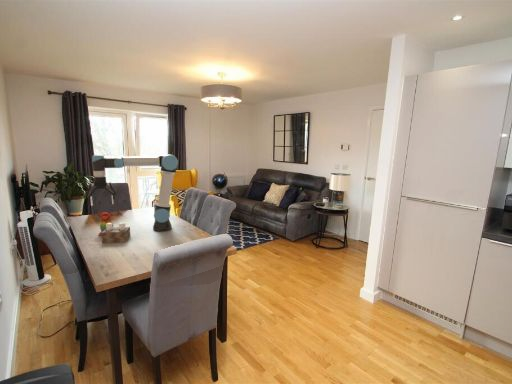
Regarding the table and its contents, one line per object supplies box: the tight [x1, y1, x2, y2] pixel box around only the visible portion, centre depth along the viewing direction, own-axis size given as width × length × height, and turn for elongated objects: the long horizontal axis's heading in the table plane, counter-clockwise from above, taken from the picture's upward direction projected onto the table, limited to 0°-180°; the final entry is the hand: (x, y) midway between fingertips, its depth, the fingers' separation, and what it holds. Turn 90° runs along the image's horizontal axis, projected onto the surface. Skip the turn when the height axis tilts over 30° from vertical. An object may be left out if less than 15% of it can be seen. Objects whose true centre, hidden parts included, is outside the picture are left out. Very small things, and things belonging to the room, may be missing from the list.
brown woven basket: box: [100, 226, 131, 244], centre depth 198 cm, size 16×12×8 cm
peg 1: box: [106, 223, 114, 231], centre depth 197 cm, size 4×4×8 cm
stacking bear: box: [98, 211, 114, 237], centre depth 210 cm, size 11×10×18 cm
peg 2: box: [118, 222, 126, 230], centre depth 198 cm, size 4×4×8 cm
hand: (102, 204), depth 196 cm, fingers open, 13 cm apart
